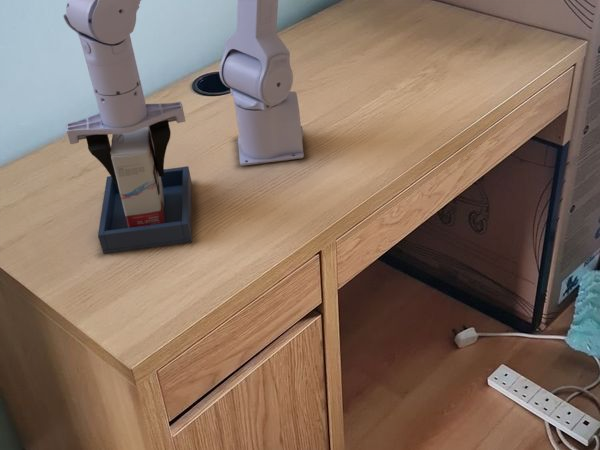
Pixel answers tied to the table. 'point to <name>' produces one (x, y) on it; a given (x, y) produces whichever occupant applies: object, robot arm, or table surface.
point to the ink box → (138, 177)
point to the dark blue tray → (171, 232)
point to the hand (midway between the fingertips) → (139, 176)
